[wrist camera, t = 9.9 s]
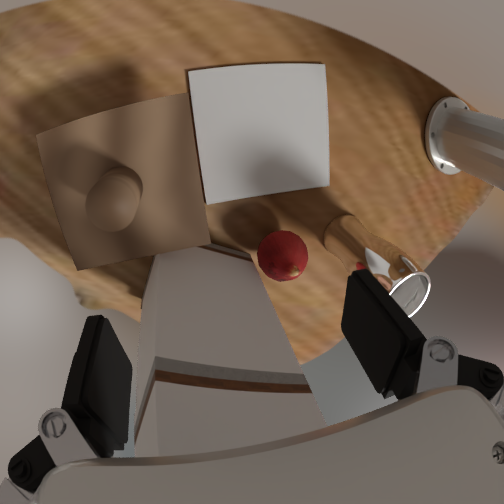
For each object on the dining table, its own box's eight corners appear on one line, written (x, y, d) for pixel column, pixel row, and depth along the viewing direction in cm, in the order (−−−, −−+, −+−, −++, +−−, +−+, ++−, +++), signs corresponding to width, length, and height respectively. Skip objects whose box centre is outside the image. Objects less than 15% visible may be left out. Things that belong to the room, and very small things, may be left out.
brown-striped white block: (141, 299, 37) (152, 590, 8) (162, 229, 34) (186, 611, 4) (220, 316, 42) (292, 572, 12) (249, 254, 38) (384, 551, 8)
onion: (278, 267, 40) (299, 304, 33) (242, 251, 37) (257, 288, 31) (303, 231, 38) (330, 263, 31) (267, 212, 36) (289, 242, 29)
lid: (188, 92, 22) (189, 90, 17) (210, 239, 29) (217, 269, 24) (40, 133, 20) (11, 143, 15) (79, 265, 27) (65, 297, 22)
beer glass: (311, 232, 38) (372, 303, 26) (352, 201, 37) (426, 257, 25) (333, 265, 42) (389, 335, 29) (370, 236, 41) (435, 296, 28)
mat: (323, 64, 28) (324, 64, 28) (327, 184, 36) (329, 185, 35) (188, 71, 26) (188, 71, 25) (206, 203, 33) (206, 204, 33)
